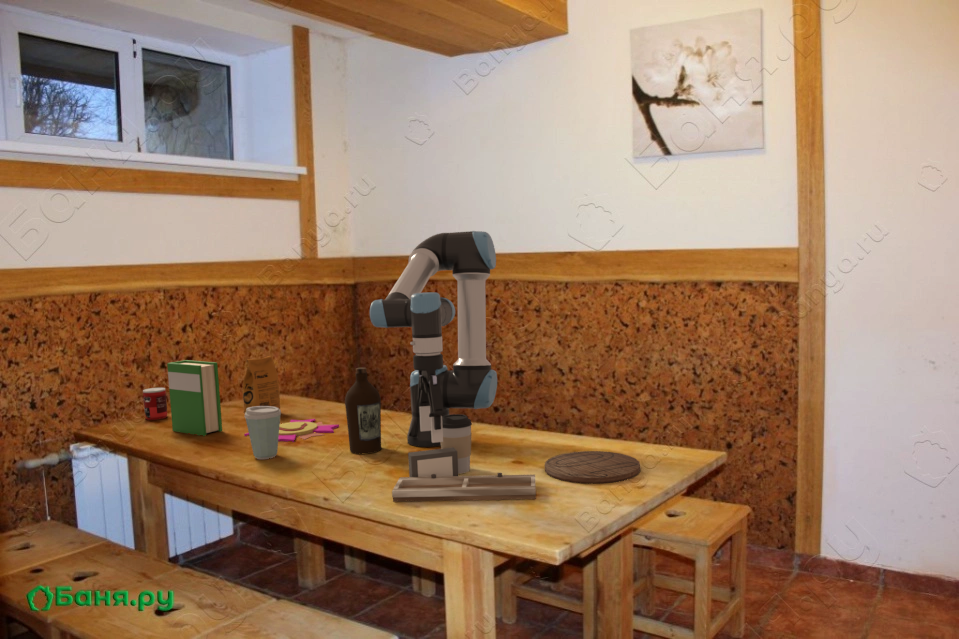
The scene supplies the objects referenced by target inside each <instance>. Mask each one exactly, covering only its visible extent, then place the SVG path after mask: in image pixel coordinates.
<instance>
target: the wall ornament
mask: <svg viewBox="0 0 959 639" xmlns="http://www.w3.org/2000/svg"><path fill="white" fill-rule="evenodd" d="M313 421H315V422H313ZM281 423H282V424H281ZM281 423H280V425H279V437H278V442H288V441H292V442H291V443H295V441H294V440H296V438H298V437H299V436H300V438H299V439H301V438H302V439H301V440H303V439H304V440H303V441H306V440H307V439H309V437H310V438H311V436H312V437H319V436H325V434H334V430H335V429H336V428H337V429H338V428H339V427H340V424H329V423H328V424H326V423H323V421H319V422H316V418H309V419H303V420H299V419H290V421H289V422H281ZM314 432H316V433H314ZM247 435H249V432H246V433H244V436H243V437H248V438H249V439H250V436H247ZM296 436H297V437H296Z"/></svg>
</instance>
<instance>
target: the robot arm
mask: <svg viewBox="0 0 959 639" xmlns="http://www.w3.org/2000/svg"><path fill="white" fill-rule="evenodd" d="M407 262H408V263H407V265H406V267H405V268H404V269H403V271H402V273H401V275H400V276H399V278H398V279H397V281H396V282H395V283H394V285H393V287H392V288H391V290H390V292H389V293H388V295H387V296H386V298H385V299H383V298H380V299H375V300H373V301H372V302H371V304H370V307H369V319H370V322H371V324H372V325H373V326H374V327H376V328H385V329H388V328H411V333H412V334H411V335H412V336H411V338H412V341H410V346H412V352H413V353H414V354H413V356H412V360H413V361H412V362H413V363H412V364H413V365H412V366H413V369H414V371H412V372H411V374H410V376H409V377H410V378H409V379H410V381H409V382H410V384H409V392H410V404H411V405H410V406H411V421H410V424H409V427H408V432H407V436H406V438H407V444H409V445H411V446H414V447H420V448H421V447H424V448H427V447H428V448H430V447H431V448H432V447H441V443H440V442H443V427H442V417H443V416H446V415H450V409H474V410H478V409H487V408H489V407H491V406H492V404H493V403H494V401H495V398H496V393H497V390H498V389H497V387H498V374H497V371H496V370H494V369H492V364H491V362H490V361H489V360H488V359H487V322H486V321H487V320H486V318H487V317H486V314H487V313H486V312H487V310H486V309H487V308H486V306H487V305H486V304H487V302H486V298H487V297H486V281H487V280H488V278H490V276H491V270H493V269H495V268H496V266H497V265H496V264H497V255H496V248H495V245H494V241H493V238H492V237H491V235H490V234H489V233H488V232H487V231H479V230H478V231H475V230H472V231H457V232H456V231H454V232H441V233H436V234H433V235H432V236H429V237H428V238H426V239H424V240H423V241H422V242H420V243H419V244H418V245H417V246H415V247H414V249H412V251H411V252H410V254H409V256H408V261H407ZM440 271H452V277H453V278H454V279H455V280H456V281H457V360H456V361H455V362H454V363H453V365H452V370H449V368H448V366H447V365H445V364H444V355H443V354H442V352H443V350H444V349H443V348H444V347H443V346H444V344H443V334H442V332H443V330H442V327H445V326H447V325H449V324H450V323H451V322H452V321H453V320H454V319H455V316H456V308H455V305H454V303H453V302H452V301H451V300H450V299H448V298H446V297H442V296H441V294H439V293H438V292H433V291H432V292H423V290H424V288H425V286H426V285H427V283H428V282H429V280H430V278H431V277H433V276H435V274H437V272H440Z"/></svg>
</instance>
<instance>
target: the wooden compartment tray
mask: <svg viewBox="0 0 959 639" xmlns="http://www.w3.org/2000/svg"><path fill="white" fill-rule="evenodd" d="M536 487H537V486H536V474H503V473H502V472H497V474H496V475H495V474H493V475H491V474H490V475H489V474H488V475H458V476H442V477H436V474H432V475H431V477H409V476H406V477H405V476H401V477H399V478H398V480H397V482H396V483H395V485H394V487H393V488H392V491H391V498H392V502H395V503H396V502H436V501H437V502H442V501H443V502H446V501H448V502H450V501H486V500H487V501H489V500H491V501H493V500H496V501H497V500H498V501H499V500H503V501H504V500H536V499H537V497H536V495H537V494H536V491H537V490H536Z"/></svg>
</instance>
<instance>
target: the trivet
mask: <svg viewBox="0 0 959 639" xmlns="http://www.w3.org/2000/svg"><path fill="white" fill-rule="evenodd" d="M544 472H545V474H546V475H547V476H549V477H551V478H552V479H556V480H558V481H561V482H562V481H563V482H566V483H571V484H580V485H581V484H583V485H602V484H604V485H605V484H614V483H619V481H620V482H624V480H625V481H628V480H630V479H633V478H635V477H637V476H638V475H640V472H641V462H640V461H639V459H636V457H633V456H631V455H628V454H623V453H619V452H612V451H604V450H602V451H601V450H584V451H572V452H566V453H561V454H557V455H554V456H552V457H550V458H548V459H547V460H546V461H545V462H544ZM627 479H628V480H627Z"/></svg>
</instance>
